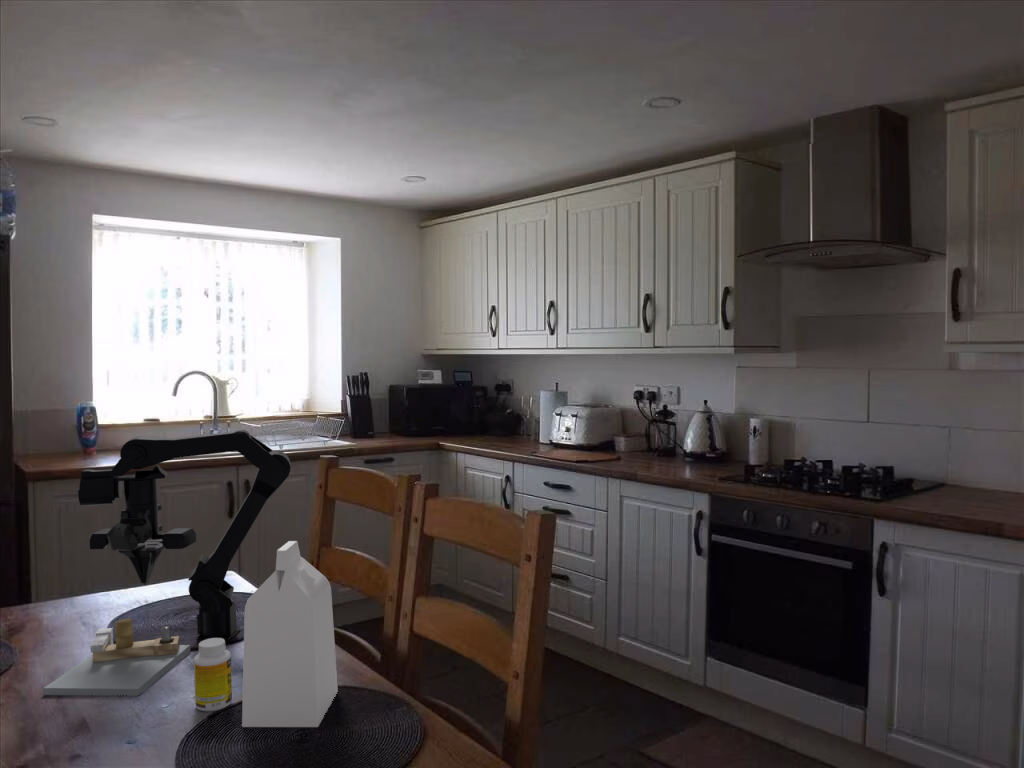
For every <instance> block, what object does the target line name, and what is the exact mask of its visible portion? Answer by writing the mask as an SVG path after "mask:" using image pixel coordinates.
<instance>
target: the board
mask: <svg viewBox="0 0 1024 768" xmlns="http://www.w3.org/2000/svg"><path fill="white" fill-rule="evenodd" d="M190 652H191V644H180V646H179V650H178V653H175V654H166V655H158V656H154V655H150V656H142V657H133V658H125V659H116V660H108V661H100V662H93V654H91V655H90V656H88V657H87V658H86V659H84V660H83V661H80V663H78V664H76V666H74V667H72V668H71V669H69V670H68V671H66V672H65V673H63V674H62V675H60V676H59V677H58V678H56V679H54V680H53V681H52V682H50V683H48V684H47V685H45V687H43V696H88V695H89V696H90V697H91V695H93V696H94V697H96V696H97V697H98V696H102V697H103V696H105V697H107V696H108V697H110V696H112V697H113V695H114V697H117V695H118V697H126V695H127V697H139V696H140V695H141V694H142V693H144V692H145V691H146V690H147V689H148V688H149V687H151V686H152V685H153V684H154V683H155V682H156V681H158V680H159V679H161V677H162V676H163V675H164V674H166V673H167V672H168V671H169V670H171V669H172V667H174V666H175V665H176V664H178V663H179V662H180V661H181V660H182V659H184V658H185V657H186V656H187V655H188V654H189V653H190ZM120 695H121V696H120ZM122 695H124V696H122ZM138 695H139V696H138ZM89 696H88V697H89Z"/></svg>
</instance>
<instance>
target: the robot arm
mask: <svg viewBox="0 0 1024 768" xmlns="http://www.w3.org/2000/svg"><path fill="white" fill-rule="evenodd" d="M119 452H120V455H119V457H120V458H119V460H118V461H117V463H115V465H113V466H112V468H111V469H109V468H108V469H84V470H81V472H80V480H79V486H78V487H79V488H78V490H77V496H78V501H79V506H81V507H93V506H104V505H105V506H107V505H108V506H109V505H116V502H117V500H119V499H122V497H123V495H124V509H122V510H121V511H120V519H119V521H118V522H117V523H116V524H114V526H112V528H108V527H107V528H103V529H101V530H98V531H96V532H92V533H91V534H90V536H89V538H88V541H87V542H88V549H89V550H104V549H106V548H107V546H108V545H109V548H110V550H112V551H117V553H119V554H123V555H125V556H126V557H127V558H128V559H129V561H130V562H131V564H132V565H133V567H134V570H135V572H136V574H137V576H138V578H139V581H140V582H141V584H146V583H148V582H149V581H150V578H151V576H152V573H153V570H154V568H155V565H156V564H157V560H158V558H160V557H159V556H160V555H161V552H162V551H163V549H166V550H183V549H185V548H187V547H189V546H190V545H193V544H194V543H197V533H196V531H195V530H194V529H193V528H192V527H179V528H178V527H175V528H173V529H170V530H169V531H167V532H164V533H162V531H163V525H161V524H160V523H159V511H161V510H162V504H159V503H158V501H159V500H158V479H165V478H167V476H168V472H167V471H166V470H164V469H163V468H162V467H161V466H160V465H159V464H161V463H164V462H167V461H172V460H174V459H178V458H179V459H181V458H187V457H196V456H205V455H211V454H212V455H214V454H221V453H223V454H224V453H229V452H237V453H239V454H240V455H242V457H244V458H245V459H246V460H247V461H249V462H250V463H251V464H252V465H253V466H254V467H256V468H257V472H256V474H255V477H254V480H253V483H252V485H251V488H250V491H249V492H248V494H247V495H246V497H245V499H244V501H243V502H242V504H241V506H240V507H239V509H238V511H237V512H236V514H235V516H234V517H233V519H232V521H231V522H230V524H229V526H228V527H227V529H226V531H225V533H224V534H223V536H222V538H221V539H220V541H219V543H218V544H217V546H216V548H215V549H214V550H213V551H212V553H210V555H208V556H207V555H206V554H204V553H202V554H201V555H200V558H199V561H198V563H197V564H196V566H195V567H193V569H191V572H190V575H189V577H188V578H187V579H188V582H189V581H190V583H189V586H188V593H189V597H191V599H192V600H193V601H195V602H196V603H198V604H199V607H198V613H196V632H197V635H198V636H197V637H195V641H196V640H197V642H201V641H203V640H206V639H210V638H222V639H224V640H225V642H227V640H228V641H230V640H231V639H232V638H233V637H234V636H235V635H236V634H237V633H238V632H239V631H240V630H241V627H240V626H237V602H235V601H232V600H233V599H232V598H233V596H234V589H235V587H234V586H233V585H231V584H230V583H229V582H228V581H227V580H225V579H226V575H227V574H228V570H229V568H230V566H231V565H230V564H231V562H232V560H233V558H234V557H235V554H236V553H237V552H238V550H239V548H240V547H241V544H242V543H243V541H244V540H245V538H246V536H247V535H248V534H249V531H250V529H251V528H252V526H253V524H255V523H254V522H255V521H256V519H257V518H258V516H259V514H260V513H261V512H262V509H263V508H264V506H265V503H266V502H267V501H268V499H270V498H271V497H272V495H273V494H274V493H275V492H277V490H278V489H280V486H281V485H282V484H283V483H284V482H285V481H286V480H287V478H288V477H289V475H290V473H291V460H290V458H289V456H288V455H287V454H286V453H285V452H283V451H281V450H274V449H271V448H270V447H269V446H267V445H266V444H265V443H263V442H262V441H260V439H257V438H256V437H254V436H253V435H251V433H250V432H249V431H248V430H246V429H236V430H235V431H228V432H225V431H224V432H216V433H209V434H201V435H190V436H183V437H182V436H181V437H166V436H165V437H164V436H156V435H155V436H152V435H151V436H150V435H138V436H135V437H133V438H131V439H130V440H128V441H126V442H125V443H124V444H123V445H122V446H121V449H120V451H119ZM155 465H156V466H155ZM152 466H155V467H154V468H152V469H146V468H147V467H152ZM131 470H136V471H135V474H131V475H125V474H127V473H128V472H130V471H131ZM123 489H124V490H123ZM123 492H124V493H123ZM159 524H160V525H159ZM160 532H161V533H160ZM234 634H235V635H234ZM231 637H232V638H231ZM230 638H231V639H230ZM229 639H230V640H229Z"/></svg>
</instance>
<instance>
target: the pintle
mask: <svg viewBox="0 0 1024 768" xmlns="http://www.w3.org/2000/svg"><path fill="white" fill-rule="evenodd" d="M160 631H161V634H160V635H161V638H162V644H164V643H171V637H172V627H171V625H166V626H162V627H161V629H160Z"/></svg>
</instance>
